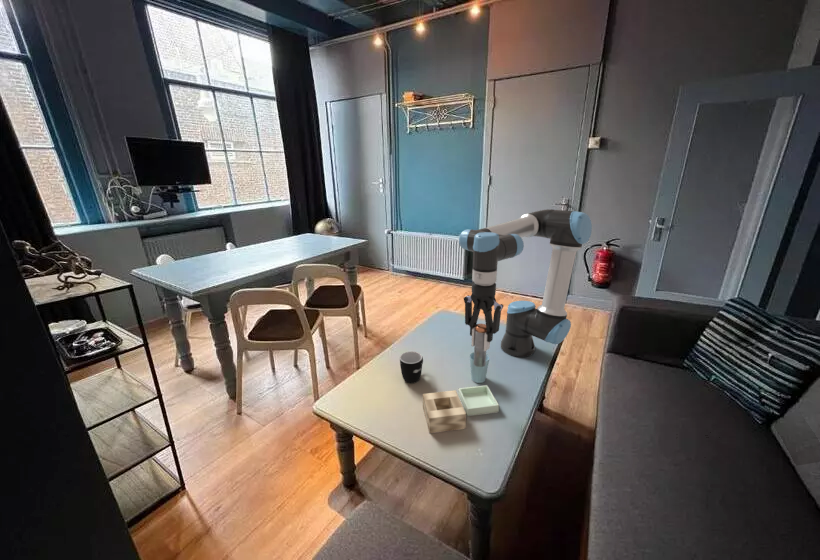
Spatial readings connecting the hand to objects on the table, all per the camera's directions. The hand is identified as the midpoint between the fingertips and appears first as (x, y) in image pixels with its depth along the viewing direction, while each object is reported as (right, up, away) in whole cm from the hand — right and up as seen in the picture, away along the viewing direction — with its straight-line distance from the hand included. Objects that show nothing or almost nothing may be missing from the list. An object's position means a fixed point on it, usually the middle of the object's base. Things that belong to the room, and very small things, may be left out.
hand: (480, 346), depth 111 cm
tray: (+1, -22, +8) cm, 23 cm away
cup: (+4, -18, +21) cm, 28 cm away
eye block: (-13, -25, +1) cm, 28 cm away
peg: (0, -6, +2) cm, 7 cm away
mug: (-22, -17, +24) cm, 37 cm away
